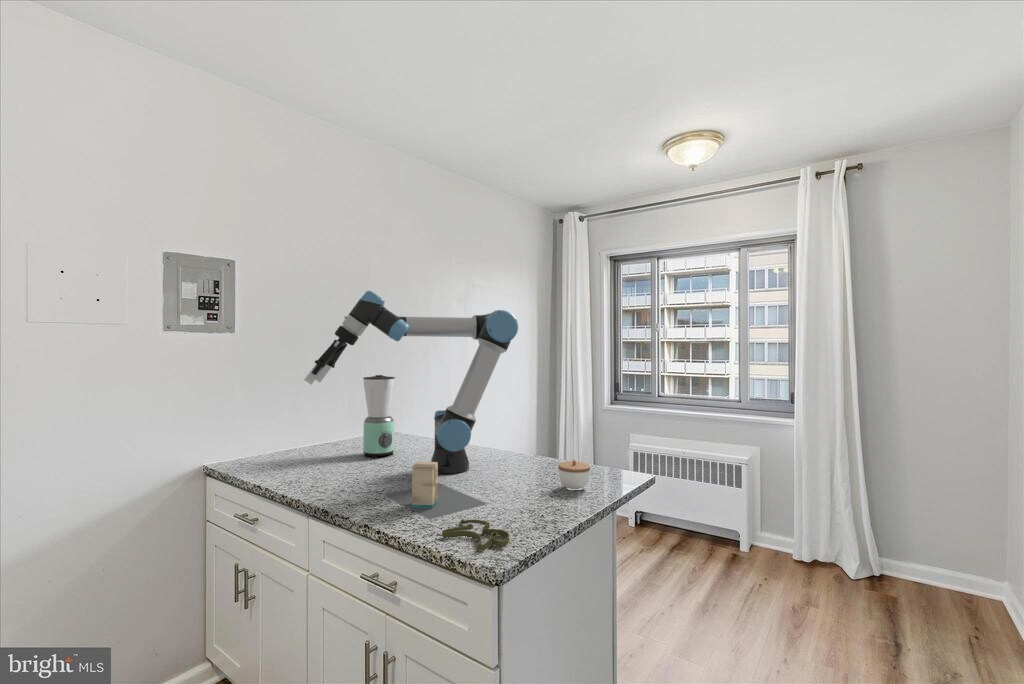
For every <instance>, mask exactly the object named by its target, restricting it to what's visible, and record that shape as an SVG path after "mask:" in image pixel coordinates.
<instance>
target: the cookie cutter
mask: <svg viewBox="0 0 1024 684" xmlns="http://www.w3.org/2000/svg"><path fill="white" fill-rule="evenodd" d="M463 523H464V524H466V525H464V524H463ZM467 523H468V524H467ZM472 523H480V524H484V526H483V527H482V535H483V534H486V535H485V536H488V535H491V536H489V538H488V540H487V541H486V542H484V543H482V536H481V535H480V534H479V533H477V532H475V531H471V530H472V529H474V524H472ZM458 524H459V526H457V527H451V528H446V529H443V530H442V531H441V536H443V537H444V538H443V537H442V538H443V539H445V538H447V537H448V538H447V539H450V538H449V537H454V538H458V537H457V536H465V537H464V538H467V537H472V538H475V539H477V540H478V541H479V542H478V541H477V540H476V541H477V542H478V543H477V551H478V550H480V551H479V552H481V550H482V551H484V550H485V549H487V548H488V547H489V548H490V546H491V545H492V544H494V545H496V546H498V547H497V548H499V547H501V548H500V549H503V548H502V547H504V546H506V545H507V544H508V543H509V544H510V533H509V532H508V531H506V530H504V529H497V528H490V522H489V521H485V520H482V519H466V520H465V519H460V521H459V523H458ZM488 528H489V529H488ZM498 535H500V536H498ZM466 536H467V537H466ZM501 536H503V537H502V538H504V537H506V538H505V539H503V540H499V537H501ZM472 538H471V539H472ZM475 539H474V540H475ZM491 542H492V543H491ZM490 544H491V545H490ZM509 544H508V545H509ZM489 545H490V546H489ZM494 545H493V546H494ZM508 545H507V546H508ZM496 546H495V547H496ZM507 546H506V547H507ZM489 548H488V549H489ZM504 548H505V547H504ZM488 549H487V550H488ZM485 551H486V550H485ZM485 551H484V552H485Z"/></svg>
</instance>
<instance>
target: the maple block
mask: <svg viewBox="0 0 1024 684" xmlns="http://www.w3.org/2000/svg"><path fill="white" fill-rule="evenodd" d="M411 468H412V473H411V474H412V476H411V477H412V481H411V489H412V508H427V509H433V507H434V506H435V505H436V503H437V502H438V483H439V482H438V481H439V477H438V476H439V475H438V474H439V473H438V462H431V461H417V462H416V463H415V464H414V465H412V467H411Z"/></svg>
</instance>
